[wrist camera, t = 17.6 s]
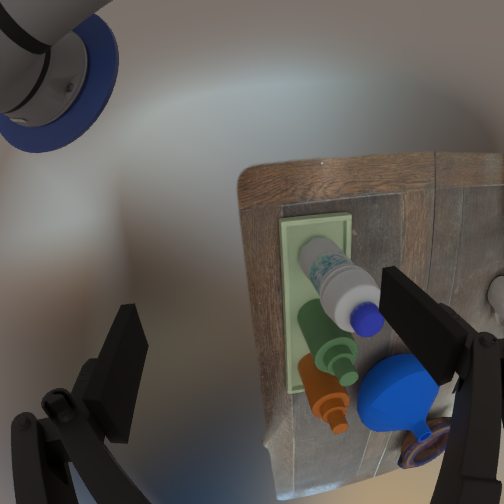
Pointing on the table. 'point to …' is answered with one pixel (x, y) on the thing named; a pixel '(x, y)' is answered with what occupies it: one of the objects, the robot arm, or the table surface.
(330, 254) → the bottle
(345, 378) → the green bottle
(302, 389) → the tray
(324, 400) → the amber bottle
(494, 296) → the mug
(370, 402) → the vase
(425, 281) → the table surface
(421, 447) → the bowl
